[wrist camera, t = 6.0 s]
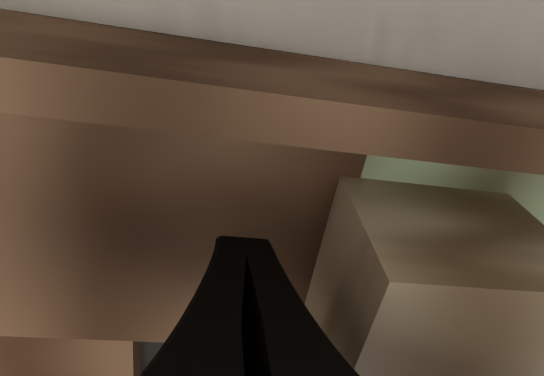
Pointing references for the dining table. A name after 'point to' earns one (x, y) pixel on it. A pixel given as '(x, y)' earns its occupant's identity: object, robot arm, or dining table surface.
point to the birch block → (430, 281)
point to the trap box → (203, 172)
